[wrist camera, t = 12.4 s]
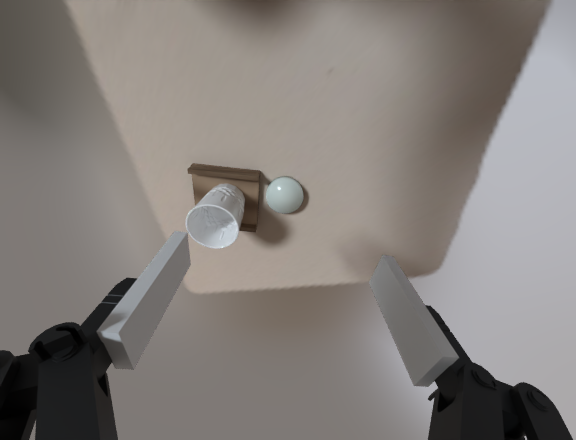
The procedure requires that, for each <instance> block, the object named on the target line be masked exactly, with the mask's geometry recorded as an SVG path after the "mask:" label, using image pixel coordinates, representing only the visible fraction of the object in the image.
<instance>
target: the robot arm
mask: <svg viewBox="0 0 576 440" xmlns="http://www.w3.org/2000/svg"><path fill="white" fill-rule="evenodd" d="M190 265H191V263H190V254H189V244H188V235H187V232H179V231H174V233H173V234H172V235H171V237H170V238H169V239H168V240H167V242H166V243H165V244H164V246H163V247H162V248H161V249H160V251H159V252H158V253H157V254H156V256H155V257H154V258H153V260H152V261H151V262H150V264H149V265H148V266H147V267H146V269H145V270H144V271H143V272H142V274H141V275H140V276H139V278H138V279H136V278H126V279H124V280H123V281H121V282H120V283H118V284H117V285H116V286H115V287H114V288H113V289H112V290H111V291H110V292H109V294H108V296H106V297H105V298H104V299H103V301H102V303H101V304H99V305H98V306H97V307H96V309H95V310H94V311H93V312H92V313H91V314H90V315H89V317H88V318H87V319H86V320H85V321H84V322H83V324H82V325H81V326H79V324H76V323H74V322H71V323H70V322H68V323H67V322H66V323H62V324H58V325H55V326H53V327H51V328H49V329H47V330H45V331H44V332H43V333H41V334H40V335H39V336H37V337H36V339H35V340H34V341H33V342H32V343H31V345H30V347H29V350H28V352H29V353H30V354H25V355H20V356H16V357H15V356H14V355H13V354H12V353H11V352H10V351H5V350H2V351H0V440H29V438H30V435H31V432H32V429H33V426H34V423H35V420H36V435H35V440H118V437H117V431H116V425H115V419H114V413H113V407H112V400H111V394H110V388H109V382H108V376H107V373H106V370H107V369H108V367H109V366H110V364H111V363H113V365H114V367H115V368H116V369H133V370H134V368H135V367H136V365H137V363H138V361H139V359H140V357H141V355H142V354H143V352H144V350H145V348H146V346H147V344H148V342H149V341H150V339H151V337H152V335H153V333H154V331H155V329H156V328H157V325H158V324H159V322H160V320H161V318H162V317H163V315H164V313H165V311H166V309H167V307H168V306H169V304H170V302H171V300H172V298H173V296H174V294H175V293H176V291H177V289H178V287H179V285H180V283H181V281H182V280H183V278H184V276H185V274H186V272H187V270H188V269H189V267H190ZM369 284H370V286H371V289H372V291H373V293H374V296H375V298H376V300H377V302H378V305H379V307H380V309H381V312H382V314H383V316H384V318H385V321H386V323H387V325H388V328H389V330H390V332H391V334H392V337H393V339H394V341H395V344H396V346H397V348H398V351H399V353H400V355H401V357H402V360H403V362H404V364H405V367H406V369H407V371H408V373H409V376H410V378H411V380H412V382H413V385H414V386H426V387H428V386H430V385H431V384H432V382H434V381H435V382H436V384H437V386H438V389H437V390H435V391H434V392H433V393H432V394H431V395H430V396H429V398H428V400H430V401H431V400H432V399H433V398H434V397H435V398H434V405H433V411H432V417H431V423H430V430H429V436H428V440H525V438H524V436H526V437H527V440H573V439H572V437H571V435H570V433H569V431H568V429H567V427H566V425H565V423H564V421H563V419H562V417H561V415H560V414H559V411H558V410H557V408H556V407H555V405H554V404H553V402H552V401H551V400H550V399H549V398H548V397H547V396H546V395H545V394H544V393H542V392H541V391H540V390H539V389H537V388H536V387H534V386H532V385H530V384H527V383H524V382H523V383H519V384H517V385H515V386H514V387H513V386H511V385H508V384H506V383H503V382H500V381H498V380H495V378H494V377H493V376H492V375H491V374H490V373H489V372H488V371H487V370H486V369H484V368H483V367H482V366H480V365H478V364H476V363H473V362H472V361H471V360H470V358H469V357H468V356H467V354H466V353H465V351H464V350H463V348H462V347H461V345H460V344H459V342H458V341H457V340H456V338H455V337H454V335H453V334H452V332H450V329H449V328H448V327H447V325H445V322H444V321H443V320H442V318H441V316H440V315H439V314H438V313H437V312H436V311H435V310H434V309H433V308H432V307H431V306H427V305H425V304H424V303H423V301H422V300H421V298H420V297H419V295H418V294H417V292H416V291H415V289H414V288H413V286H412V285H411V283H410V282H409V280H408V278H407V277H406V275H405V274H404V272H403V271H402V269H401V268H400V266H399V265H398V263H397V262H396V260H395V259H394V257H393V256H387V255H382V257H381V259H380V261H379V263H378V265H377V267H376V269H375V271H374V273H373V275H372V277H371V279H370V281H369Z"/></svg>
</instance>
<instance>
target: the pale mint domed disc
mask: <svg viewBox="0 0 576 440" xmlns="http://www.w3.org/2000/svg"><path fill="white" fill-rule="evenodd" d="M266 200H267V203H268V205H269V206H270V207H271V208H272V209H273V210H274V211H276V212H278V213H284V214H286V213H291V212H294V211H295V210H297V209H298V208H299V207H300V206H301V204H302V202H303V190H302V187H301V185H300V183H299V182H298V181H297V180H296V179H294V178H292V177H288V176H281V177H278V178H276V179H274V180H273V181H272V182H271V183H270V184H269V186H268V188H267V193H266Z"/></svg>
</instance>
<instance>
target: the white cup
mask: <svg viewBox="0 0 576 440" xmlns="http://www.w3.org/2000/svg"><path fill="white" fill-rule="evenodd" d="M244 207H245V198H244V195H243V193H242V191H240V190H239V189H238V188H237V187H236V186H234V185H231V184H219V185H217V186H215V187H213V188H212V190H211V191H209V192H208V193H207V194H206V195H205V196H204V197H203V198H202V199H201V200H200V201H199V202H198V203H197V204H196V206H195V207H194V208H193V209H192V210H191V211H190V212H189V213H188V215H187V217H186V228H187V231H188V233H189V234H190V236H191V237H192V238H193V239H194V240H195V241H196V242H198V243H199V244H201V245H203V246H205V247H209V248H224V247H227V246H229V245H231V244H232V243H233V242H234V241H235V240H236V239H237V237H238V234H239V230H240V226H241V222H242V218H243V213H244Z"/></svg>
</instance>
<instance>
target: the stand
mask: <svg viewBox="0 0 576 440" xmlns="http://www.w3.org/2000/svg"><path fill="white" fill-rule="evenodd" d="M188 174H192V181H193V190H194V199H195V206H196V204H197V203H198V202H199V201H200V200H201V199H202V198H203V197H204V196H205V195H206V194H207V193H208V192H209V191H211V190H212V188H213V187H215V186H217V185H219V184H231V185H234V186H236V187H237V188H238V189H239V190H240V191H242V193H243V195H244V198H245V207H244V213H243V218H242V222H241V226H240V230H239V231H249V232H256V229H257V220H258V201H259V183H260V171H258V170H249V169H240V168H231V167H222V166H213V165H204V164H195V163H193V164H192V165H191V167H189V168H188Z"/></svg>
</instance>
